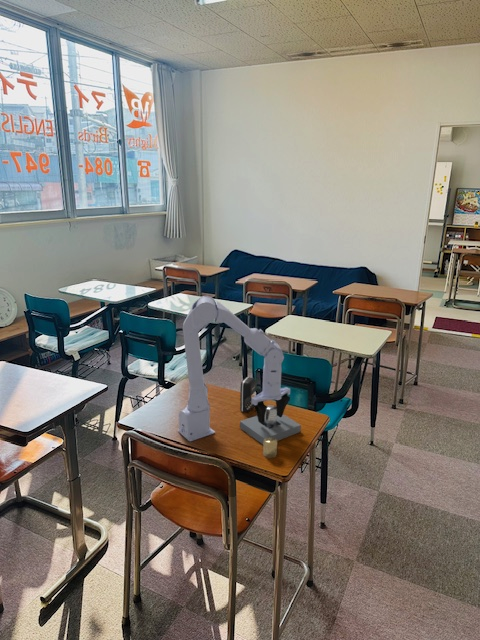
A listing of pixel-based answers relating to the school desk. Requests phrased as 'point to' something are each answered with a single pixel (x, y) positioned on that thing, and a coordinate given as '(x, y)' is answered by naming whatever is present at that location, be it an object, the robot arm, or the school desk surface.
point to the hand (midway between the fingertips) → (270, 419)
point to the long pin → (270, 416)
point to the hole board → (260, 432)
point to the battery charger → (247, 393)
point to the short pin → (270, 447)
